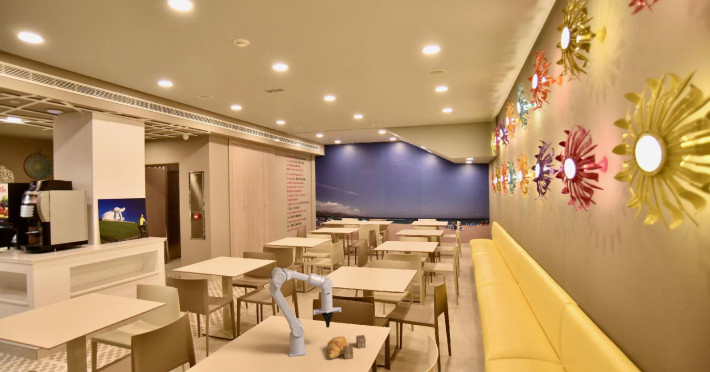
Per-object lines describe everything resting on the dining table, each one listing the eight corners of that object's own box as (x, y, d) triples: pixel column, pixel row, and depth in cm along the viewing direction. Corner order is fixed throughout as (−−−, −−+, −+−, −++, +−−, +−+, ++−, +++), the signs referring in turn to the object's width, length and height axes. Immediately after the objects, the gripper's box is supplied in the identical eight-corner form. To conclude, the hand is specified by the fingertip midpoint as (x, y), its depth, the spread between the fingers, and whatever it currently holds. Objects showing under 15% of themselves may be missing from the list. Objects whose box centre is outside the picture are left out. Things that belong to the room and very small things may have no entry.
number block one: (343, 355, 180) (343, 345, 180) (351, 354, 181) (351, 344, 181) (345, 359, 176) (344, 349, 176) (353, 358, 177) (352, 348, 177)
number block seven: (356, 345, 191) (356, 335, 191) (363, 344, 192) (363, 334, 192) (358, 348, 187) (357, 338, 187) (365, 347, 188) (365, 338, 188)
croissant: (336, 368, 175) (343, 354, 174) (318, 357, 177) (325, 343, 176) (348, 348, 195) (354, 335, 194) (331, 338, 197) (338, 325, 196)
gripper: (313, 304, 185) (314, 331, 185) (341, 301, 188) (342, 328, 188) (312, 300, 192) (313, 326, 192) (339, 297, 195) (340, 323, 195)
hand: (327, 326), depth 191 cm, fingers closed
